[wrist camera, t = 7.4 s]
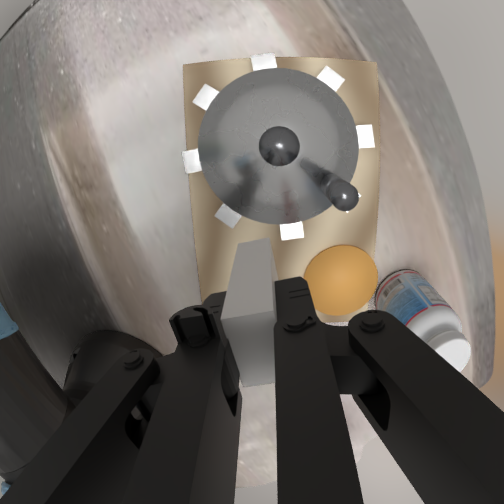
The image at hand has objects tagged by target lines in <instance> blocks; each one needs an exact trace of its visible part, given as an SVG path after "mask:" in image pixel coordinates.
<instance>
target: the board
mask: <svg viewBox="0 0 504 504" xmlns="http://www.w3.org/2000/svg"><path fill="white" fill-rule="evenodd" d="M275 60H276V65H277V68H288V69H293V70H298V71H301V72H304V73H307V74H310V75H312V76H314V77H316V78H317V76H318V75H319V74H320V73H321V71H322V70H323V69H324V68H325V67H326V66H328V67H329V68H331V69H332V70H333V71H335V72H336V73H337V74H339V75H340V76H341V77H343V78H344V79H345V81H344V82H343V83H342V84H341V86H340V87H339V88H338V89H337V91H336V93H337V94H338V95H339V96H340V97H341V98H342V100H343V101H344V103H345V104H346V105H347V107H348V109H349V111H350V113H351V115H352V117H353V119H354V122H355V125H356V126H359V125H372V129H373V137H374V145H375V147H369V148H359V155H358V161H357V166H356V170H355V173H354V175H353V178H352V180H351V182H350V184H351V185H353V186H354V187H355V188H356V189H357V191H358V193H359V194H360V195H361V196H360V198H359V201H358V204H357V205H356V207H355V208H353V209H352V210H350V211H349V212H348V213H347V212H346V211H340V210H338V209H337V208H335V206H334V205H332V206H331V207H329V208H328V209H327V210H325V211H324V212H322V213H321V214H319V215H317V216H315V217H313V218H311V219H308V220H305V221H302V226H303V234H304V237H303V238H296V239H289V240H282V238H281V231H280V225H277V224H267V223H261V222H257V221H254V220H251V219H248V218H246V217H244V216H241V218H240V219H239V221H238V222H237V223H236V225H235V226H234V228H233V229H232V228H231V227H229V226H228V225H226V224H225V223H223V222H222V221H220V220H219V219H218V218H216V217H215V214H216V213H217V211H218V210H219V208H220V207H221V205H222V204H223V202H222V201H221V200H220V199H219V198H218V197H217V196H216V194H215V193H214V192H213V190H212V189H211V188H210V186H209V184H208V182H207V181H206V179H205V176H204V174H203V171H198V172H193V173H188V174H189V187H190V198H191V210H192V220H193V231H194V240H195V250H196V259H197V267H198V276H199V284H200V292H201V300H202V305H203V302H204V300H205V299H206V298H207V297H208V296H209V295H210V294H212V293H218V292H224V291H227V288H228V284H229V280H230V276H231V271H232V267H233V263H234V258H235V254H236V250H237V246H238V243H243V242H248V241H253V240H258V239H263V238H268V237H269V238H270V242H271V247H272V252H273V256H274V261H275V266H276V271H277V275H278V280H283V279H288V278H293V277H298V276H300V277H302V278H304V274H305V271H306V268H307V266H308V265H309V263H310V262H311V260H312V259H313V258H314V257H315V256H316V255H317V254H319V253H320V252H321V251H323V250H325V249H327V248H329V247H332V246H336V245H351V246H355V247H358V248H360V249H362V250H363V251H365V252H366V253H367V254H368V255H369V256H370V257H371V258H372V260H373V261H374V253H375V243H376V231H377V218H378V202H379V178H380V111H379V89H378V73H377V62H368V61H359V60H348V59H334V58H313V57H275ZM250 72H253V66H252V61H251V58H243V59H230V60H218V61H209V62H200V63H192V64H185V65H183V84H184V109H185V128H186V145H187V151H189V150H193V149H198V136H199V129H200V126H201V122H202V119H203V117H204V114H205V112H206V110H204V109H202V108H201V107H199V106H198V105H196V104H194V103H193V100H194V99H195V97H196V96H197V94H198V93H199V91H200V90H201V89H202V87H203V86H204V84H207V85H209V86H210V87H212V88H214V89H215V90H217V91H219V92H220V91H221V90H222V89H223V88H224V87H225V86H227V85H228V84H229V83H231V82H232V81H234V80H235V79H237V78H239V77H241V76H243V75H245V74H248V73H250ZM368 302H369V301H368ZM368 302H367V303H366V304H365V305H364V306H363V307H361V308H360V309H358V310H357V311H355V312H352V313H350V314H346V315H340V316H333V315H328V314H324V313H322V312H320V311H318V310H316V309H315V311H316V314H317V316H318V318H319V319H320V321H321V322H323V323H326V322H347V321H350V320H351V318H352V317H353V316H355V315H357V314H358V313H360V312H364V311H367V309H368Z"/></svg>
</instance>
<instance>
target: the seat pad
mask: <svg viewBox="0 0 504 504" xmlns="http://www.w3.org/2000/svg"><path fill="white" fill-rule="evenodd" d="M303 279H305V280H306V281H307V283H308V286H309V289H310V293H311V297H312V300H313V304H314V307H315V309H316V310H318V311H320V312H322V313H324V314H328V315H333V316H340V315H346V314H350V313H352V312H355V311H357V310H358V309H360V308H361V307H363V306H364V305H365V304H366V303H367V302H368V301H369V300H370V299H371V297H372V296H373V294H374V292H375V290H376V287H377V282H378V272H377V268H376V265H375V263H374V261H373V260H372V258H371V257H370V256H369V255H368V254H367V253H366V252H365V251H363V250H362V249H360V248H358V247H355V246H351V245H336V246H332V247H329V248H327V249H325V250H323V251H321V252H320V253H319V254H317V255H316V256H315V257H314V258H313V259H312V260H311V262H310V263H309V265H308V266H307V268H306V271H305V274H304V278H303Z"/></svg>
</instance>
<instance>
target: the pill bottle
mask: <svg viewBox="0 0 504 504" xmlns="http://www.w3.org/2000/svg"><path fill="white" fill-rule="evenodd" d="M375 304H376V309H377V310H381V311H386V312H388V313H390V314H392V315H393V316H394V317H396V318H397V319H398V320H399V321H400V322H402V323H403V324H404V325H405V326H406V327H408V328H409V329H410V330H411V331H412V332H414V333H415V334H416V335H417V336H418V337H419V338H421V339H422V340H423V341H424V342H425V343H426V344H428V345H429V346H430V347H431V348H432V349H433V350H435V351H436V352H437V353H438V354H439V355H440V356H442V357H443V358H444V359H445V360H446V361H447V362H448V363H450V364H451V365H452V366H453V367H454V368H455V369H456V370H458V371H459V372H461V371H462V369H463V368H464V367H465V365H466V364H467V362H468V360H469V358H470V354H471V347H470V344H469V342H468V341H467V339H466V338H465V336H464V335H463V334H462V325H461V321H460V319H459V317H458V315H457V314H456V313H455V311H454V310H453V309H452V308H451V307H450V306H449V305H448V303H447V302H446V301H445V300H444V299H443V298H442V297H441V296H440V295H439V294H438V292H437V291H436V290H435V289H434V288H433V287H432V286H431V285H430V284H429V283H428V282H427V281H426V280H425V278H424V277H422V276H421V275H420V274H419V273H417V272H415V271H411V270H403V271H399V272H396V273H394V274H392V275H391V276H389V277H388V278H387V279H386V280H385V281H384V282H383V283H382V284H381V286H380V287H379V289H378V291H377V294H376V299H375Z"/></svg>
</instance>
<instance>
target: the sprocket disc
mask: <svg viewBox="0 0 504 504" xmlns="http://www.w3.org/2000/svg"><path fill="white" fill-rule="evenodd" d="M251 61H252V66H253V72H250V73H248V74H245V75H243V76H241V77H239V78H237V79H235V80H234V81H232V82H231V83H229V84H228V85H227V86H225V87H224V88H223V89H222V90H221V91H220V92H219V91H217V90H215V89H214V88H212V87H210V86H209V85H207V84H204V86H203V87H202V89H201V90H200V91H199V93H198V94H197V96H196V97H195V99H194V100H193V103H194V104H196V105H198V106H199V107H201V108H202V109H204V110H206V112H205V114H204V117H203V119H202V122H201V126H200V129H199V136H198V149H193V150H189V151H184V152H182V157H183V162H184V167H185V172H186V174H188V173H193V172H198V171H203V174H204V176H205V179H206V181H207V182H208V184H209V186H210V188H211V189H212V190H213V192H214V193H215V194H216V196H217V197H218V198H219V199H220V200H221V201H222V202H223V204H222V205H221V207H220V208H219V210H218V211H217V213H216V214H215V217H216V218H218V219H219V220H220V221H222V222H223V223H225V224H226V225H228V226H229V227H231V228H232V229H233V228H234V226H235V225H236V223H237V222H238V221H239V219H240V218H241V216H244V217H246V218H248V219H251V220H254V221H257V222H261V223H267V224H277V225H280V231H281V238H282V240H289V239H296V238H303V237H304V234H303V226H302V221H305V220H308V219H311V218H313V217H315V216H317V215H319V214H321V213H322V212H324V211H325V210H327V209H328V208H329V207H331V206H332V205H334V206H335V208H337V209H338V210H340V211H346V212H347V213H348V212H349V211H350V210H352V209H353V208H355V207H356V205H357V204H358V201H359V198H360V196H361V195H360V194H359V193H358V191H357V189H356V188H355V187H354V186H353V185H351V184H350V182H351V180H352V178H353V175H354V173H355V170H356V166H357V161H358V155H359V148H369V147H375V145H374V137H373V129H372V125H359V126H356V125H355V122H354V119H353V117H352V115H351V113H350V111H349V109H348V107H347V105H346V104H345V103H344V101H343V100H342V98H341V97H340V96H339V95H338V94H337V93H336V91H337V89H338V88H339V87H340V86H341V84H342V83H343V82H344V81H345V79H344V78H343V77H341V76H340V75H339V74H337V73H336V72H335V71H333V70H332V69H331V68H329V67H328V66H326V67H325V68H324V69H323V70H322V71H321V73H320V74H319V75H318V76H317V78H316V77H314V76H312V75H310V74H307V73H304V72H301V71H298V70H293V69H288V68H277V65H276V60H275V55H274V52H272V53H265V54H258V55H252V56H251Z"/></svg>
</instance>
